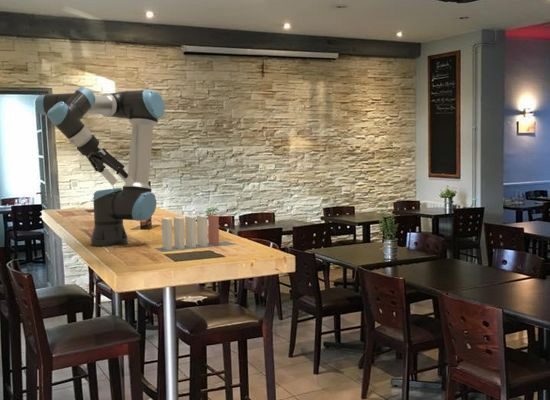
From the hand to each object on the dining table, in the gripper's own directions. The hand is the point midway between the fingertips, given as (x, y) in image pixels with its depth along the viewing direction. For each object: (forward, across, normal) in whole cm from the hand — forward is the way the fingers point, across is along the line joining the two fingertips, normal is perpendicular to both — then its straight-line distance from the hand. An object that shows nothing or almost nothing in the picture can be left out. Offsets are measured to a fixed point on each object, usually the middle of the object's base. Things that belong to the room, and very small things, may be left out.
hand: (123, 183), depth 228 cm
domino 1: (+31, +1, -5) cm, 31 cm away
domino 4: (+41, +3, +6) cm, 42 cm away
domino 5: (+44, +4, +10) cm, 46 cm away
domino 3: (+38, +3, +2) cm, 38 cm away
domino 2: (+34, +2, -2) cm, 34 cm away
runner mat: (+39, +3, +3) cm, 40 cm away
